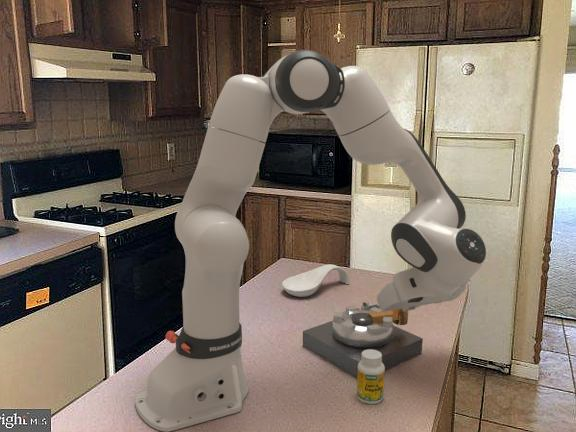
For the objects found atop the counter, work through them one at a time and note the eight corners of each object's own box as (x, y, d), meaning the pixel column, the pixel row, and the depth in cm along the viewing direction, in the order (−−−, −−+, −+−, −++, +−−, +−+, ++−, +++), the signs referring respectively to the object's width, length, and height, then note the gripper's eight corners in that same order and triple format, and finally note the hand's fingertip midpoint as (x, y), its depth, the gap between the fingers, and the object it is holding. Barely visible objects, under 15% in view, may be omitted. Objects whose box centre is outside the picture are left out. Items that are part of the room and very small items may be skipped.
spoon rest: (296, 304, 151) (296, 281, 149) (274, 292, 160) (274, 270, 159) (357, 288, 164) (357, 267, 162) (333, 277, 173) (334, 257, 172)
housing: (362, 381, 109) (363, 363, 108) (302, 346, 125) (302, 330, 124) (421, 354, 121) (422, 337, 120) (360, 324, 137) (361, 310, 136)
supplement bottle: (377, 388, 107) (379, 346, 105) (387, 403, 102) (390, 358, 100) (352, 391, 106) (354, 348, 104) (362, 406, 101) (364, 361, 98)
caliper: (362, 326, 137) (363, 304, 135) (359, 325, 137) (360, 303, 136) (399, 303, 152) (401, 283, 150) (396, 302, 152) (398, 283, 151)
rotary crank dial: (346, 351, 114) (348, 305, 111) (323, 324, 127) (324, 283, 124) (421, 340, 119) (424, 296, 117) (392, 316, 132) (394, 276, 130)
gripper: (467, 262, 115) (439, 289, 126) (388, 274, 109) (365, 301, 120) (480, 288, 112) (449, 313, 123) (398, 301, 105) (374, 326, 117)
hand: (407, 307), depth 121 cm, fingers closed, pressing on rotary crank dial
